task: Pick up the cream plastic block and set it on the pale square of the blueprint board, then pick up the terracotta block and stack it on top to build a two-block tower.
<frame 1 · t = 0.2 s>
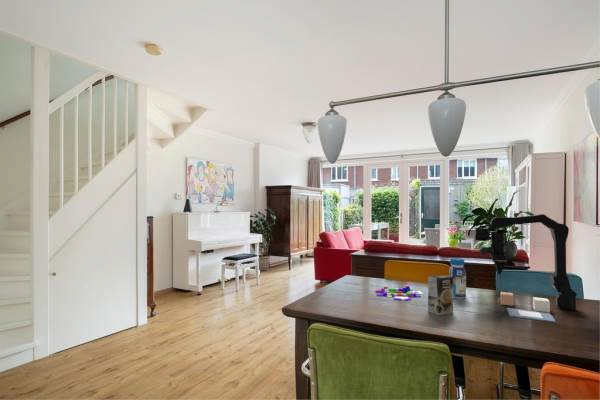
hand: (498, 272, 165), 14 cm above the table, fingers open, 9 cm apart
building block set: (400, 296, 174), on the table
terracotta block: (506, 303, 160), on the table
cream block: (541, 310, 150), on the table
coffee box: (440, 312, 146), on the table
blueprint board: (529, 315, 142), on the table
beverage bottle: (457, 297, 172), on the table
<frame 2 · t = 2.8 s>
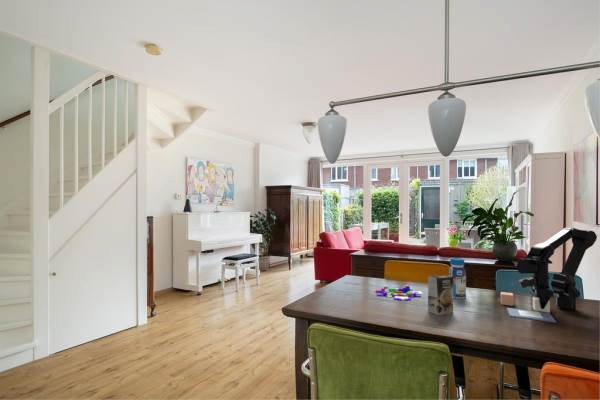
hand: (541, 307, 150), 1 cm above the table, fingers closed on cream block, 5 cm apart
cream block: (541, 309, 150), on the table, touching gripper
everything else where it was.
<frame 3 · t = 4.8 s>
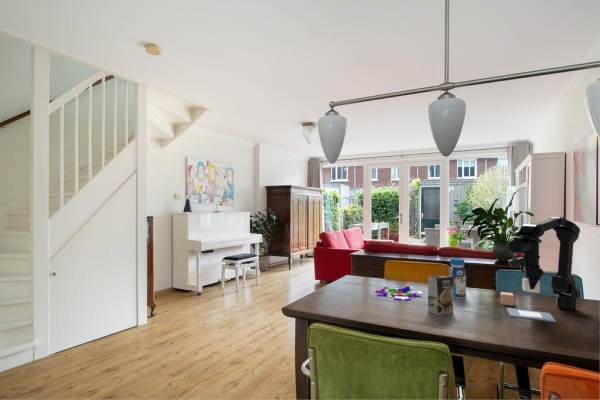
hand: (530, 288, 144), 12 cm above the table, fingers closed on cream block, 5 cm apart
cream block: (530, 290, 144), point 10 cm above the table, touching gripper
everything else where it was.
when the fingers open (3 cm above the table, at t = 6.9 s): cream block drops 1 cm, resting on blueprint board.
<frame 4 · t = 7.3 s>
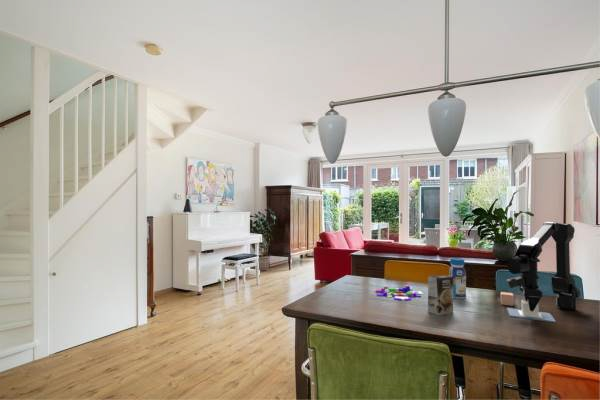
hand: (529, 308, 142), 3 cm above the table, fingers open, 9 cm apart
cream block: (529, 313, 142), point 1 cm above the table, touching blueprint board
everything else where it was.
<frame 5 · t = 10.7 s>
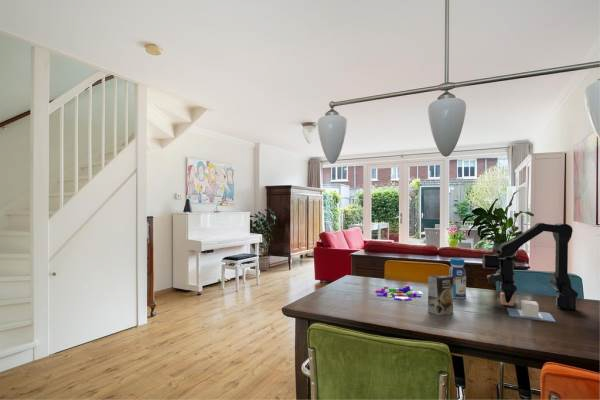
hand: (506, 301, 160), 1 cm above the table, fingers closed on terracotta block, 5 cm apart
terracotta block: (506, 303, 160), on the table, touching gripper
everything else where it was.
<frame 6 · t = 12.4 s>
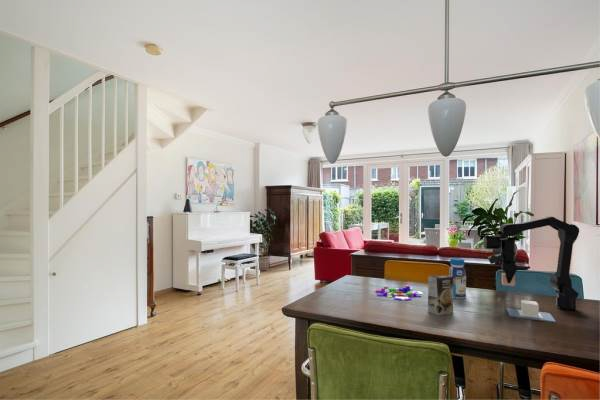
hand: (508, 281, 159), 11 cm above the table, fingers closed on terracotta block, 5 cm apart
terracotta block: (508, 284, 159), point 10 cm above the table, touching gripper
everything else where it was.
when the fingers open (8 cm above the table, at t = 14.4 s): terracotta block stays where it is, resting on cream block.
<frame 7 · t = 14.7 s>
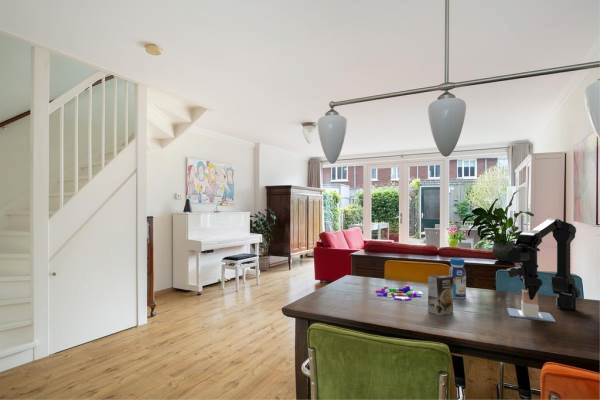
hand: (529, 297, 143), 8 cm above the table, fingers open, 8 cm apart
terracotta block: (529, 302, 143), point 6 cm above the table, touching cream block
cream block: (529, 313, 142), point 1 cm above the table, touching blueprint board, terracotta block
everything else where it was.
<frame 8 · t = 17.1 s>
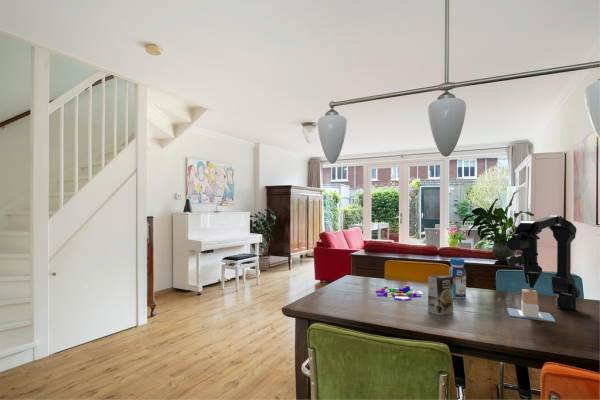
hand: (529, 285, 143), 13 cm above the table, fingers open, 9 cm apart
nothing on the table moved.
at the end: cream block 0.1 cm off-centre on the blueprint board, point 0.6 cm above the blueprint board's base; terracotta block 0.1 cm off-centre on the cream block, point 5.0 cm above the cream block's base; terracotta block tilted 0° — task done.
